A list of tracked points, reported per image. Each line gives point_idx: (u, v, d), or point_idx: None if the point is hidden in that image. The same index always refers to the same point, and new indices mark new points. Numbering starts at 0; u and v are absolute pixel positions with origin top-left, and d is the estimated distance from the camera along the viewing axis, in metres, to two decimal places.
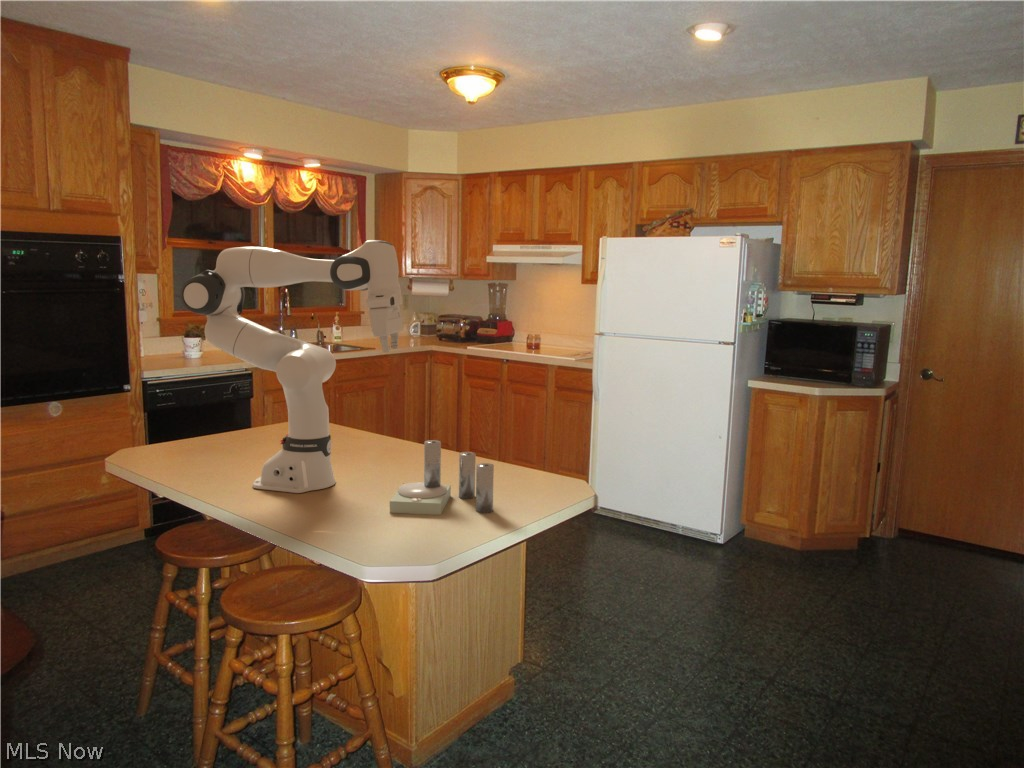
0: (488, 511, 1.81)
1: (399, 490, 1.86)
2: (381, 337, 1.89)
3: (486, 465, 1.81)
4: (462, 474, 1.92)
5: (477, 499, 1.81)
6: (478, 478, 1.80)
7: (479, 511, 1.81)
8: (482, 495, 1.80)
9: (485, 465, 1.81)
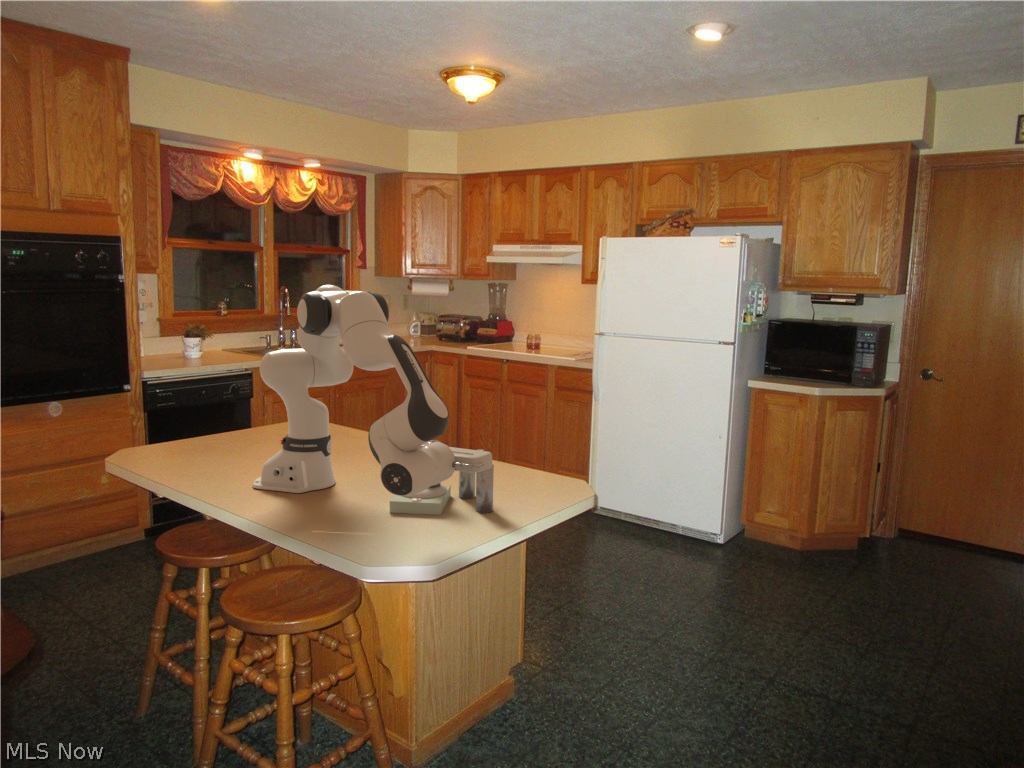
0: (488, 511, 1.81)
1: None
2: None
3: None
4: (462, 474, 1.92)
5: (477, 499, 1.81)
6: (478, 478, 1.80)
7: (479, 511, 1.81)
8: (482, 495, 1.80)
9: None
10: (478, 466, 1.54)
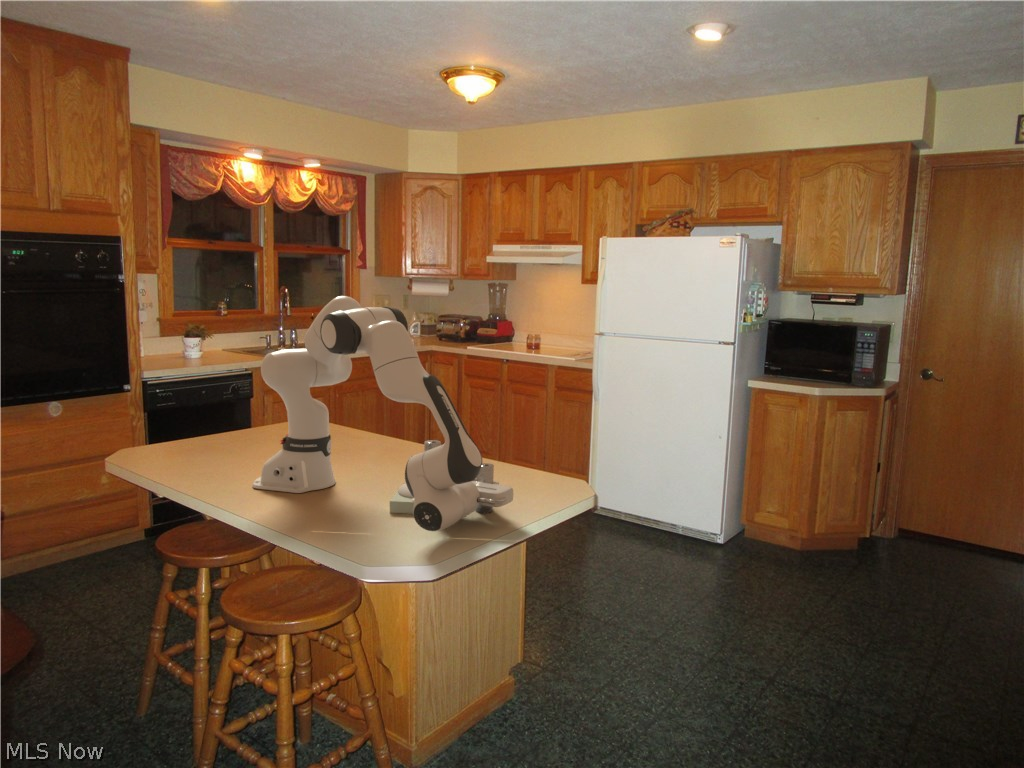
0: (488, 511, 1.81)
1: (399, 490, 1.86)
2: None
3: (486, 465, 1.81)
4: None
5: None
6: (478, 478, 1.80)
7: (479, 511, 1.81)
8: None
9: (485, 465, 1.81)
10: (501, 501, 1.67)
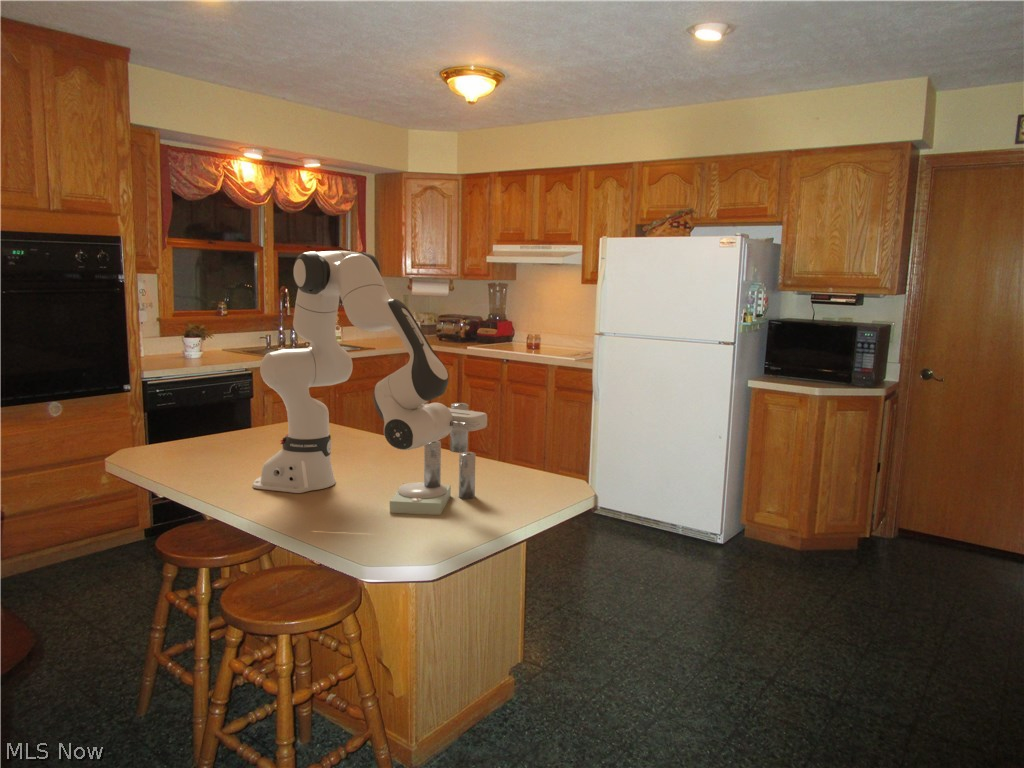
0: (462, 450, 1.81)
1: (399, 490, 1.86)
2: None
3: (461, 404, 1.80)
4: (462, 474, 1.92)
5: (451, 438, 1.81)
6: None
7: (453, 450, 1.81)
8: (456, 434, 1.80)
9: (460, 404, 1.80)
10: (474, 425, 1.66)
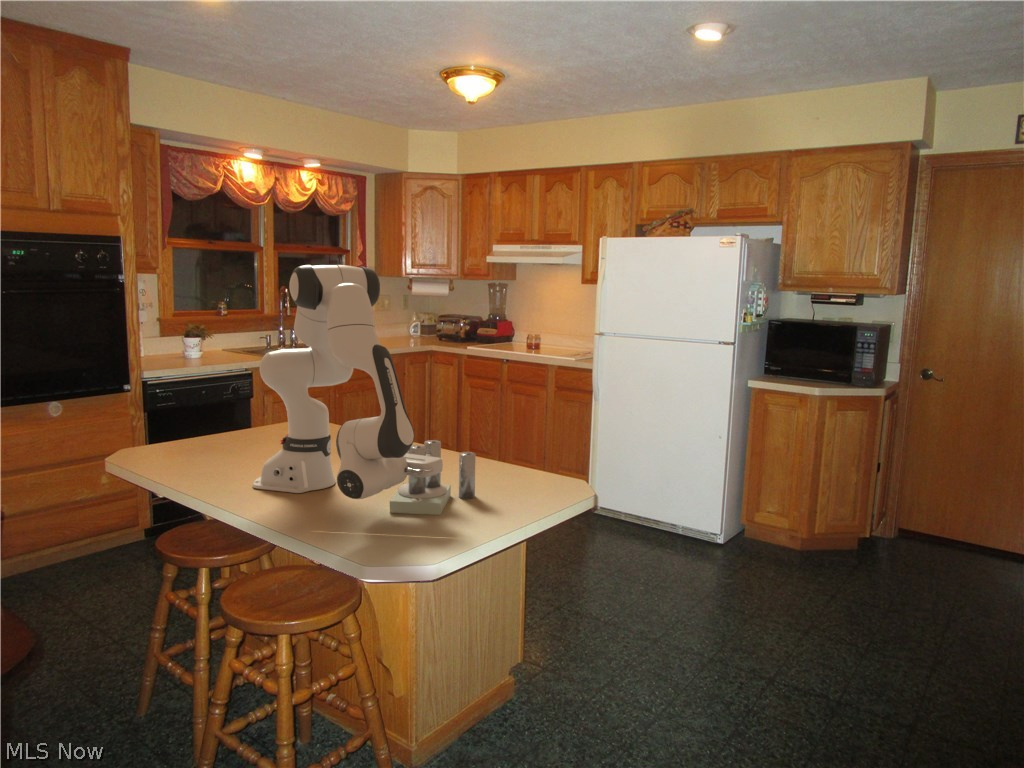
0: (420, 492, 1.83)
1: (399, 490, 1.86)
2: None
3: (418, 447, 1.83)
4: (462, 474, 1.92)
5: (409, 480, 1.84)
6: None
7: (411, 492, 1.84)
8: (414, 476, 1.83)
9: (417, 447, 1.83)
10: (427, 471, 1.70)
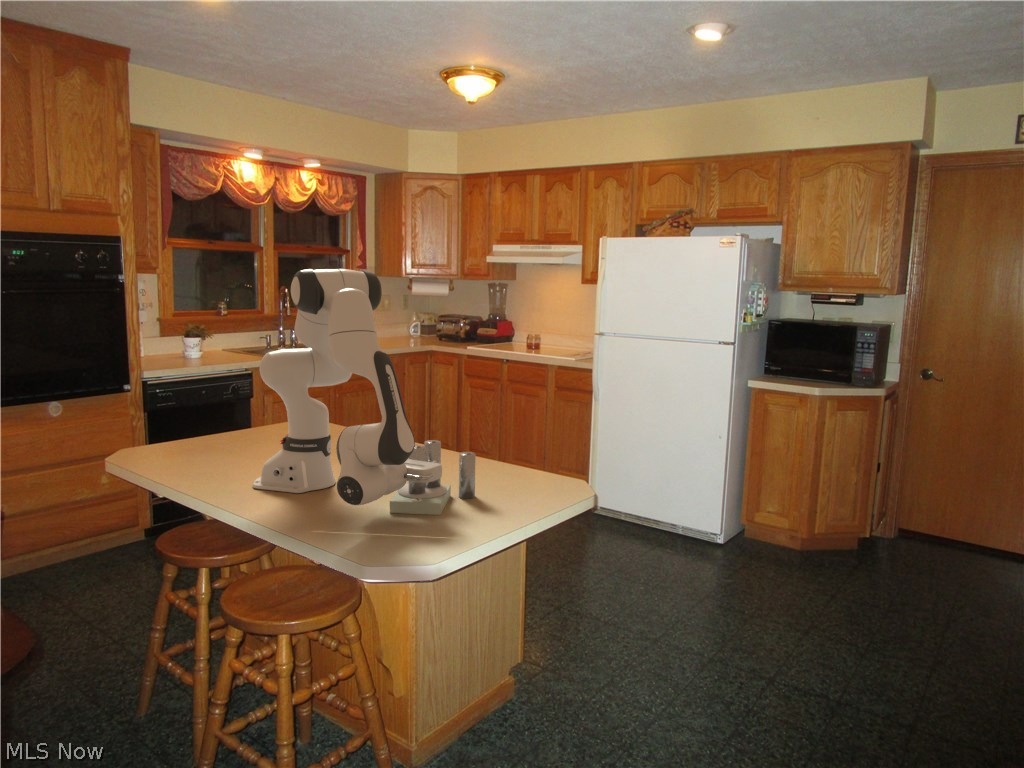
0: (420, 492, 1.83)
1: (399, 490, 1.86)
2: None
3: (418, 447, 1.83)
4: (462, 474, 1.92)
5: None
6: None
7: (411, 492, 1.84)
8: None
9: (417, 447, 1.83)
10: (427, 477, 1.70)
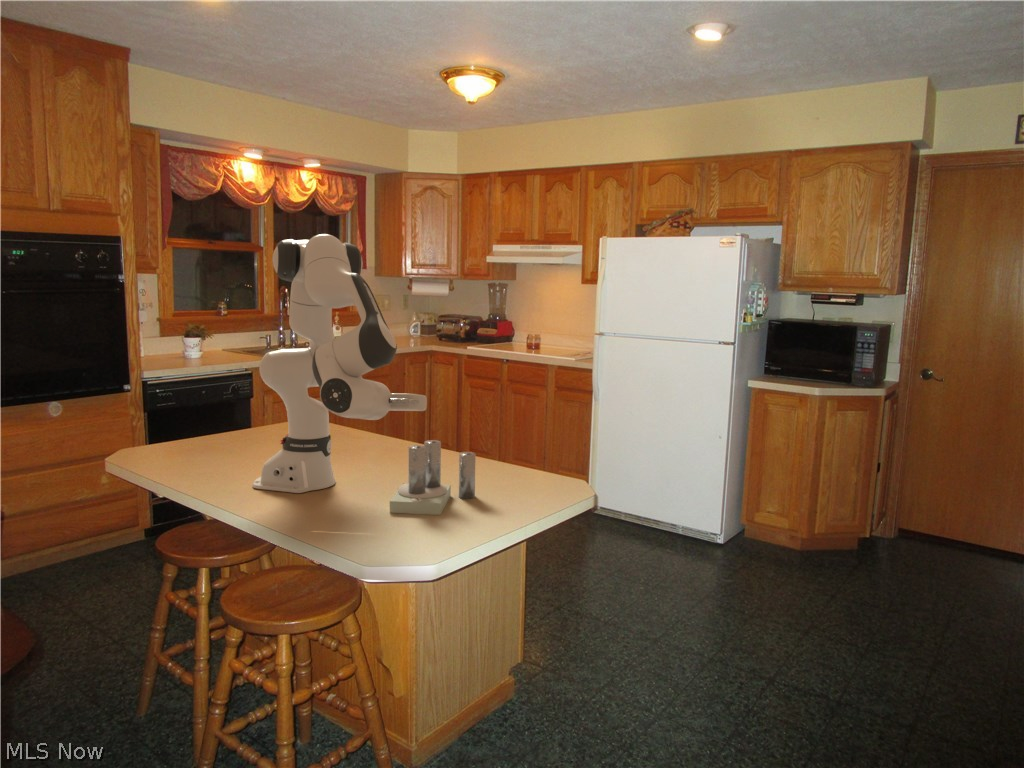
0: (420, 492, 1.83)
1: (399, 490, 1.86)
2: None
3: (418, 447, 1.83)
4: (462, 474, 1.92)
5: (409, 480, 1.84)
6: (410, 460, 1.83)
7: (411, 492, 1.84)
8: (414, 476, 1.83)
9: (417, 447, 1.83)
10: (414, 400, 1.59)
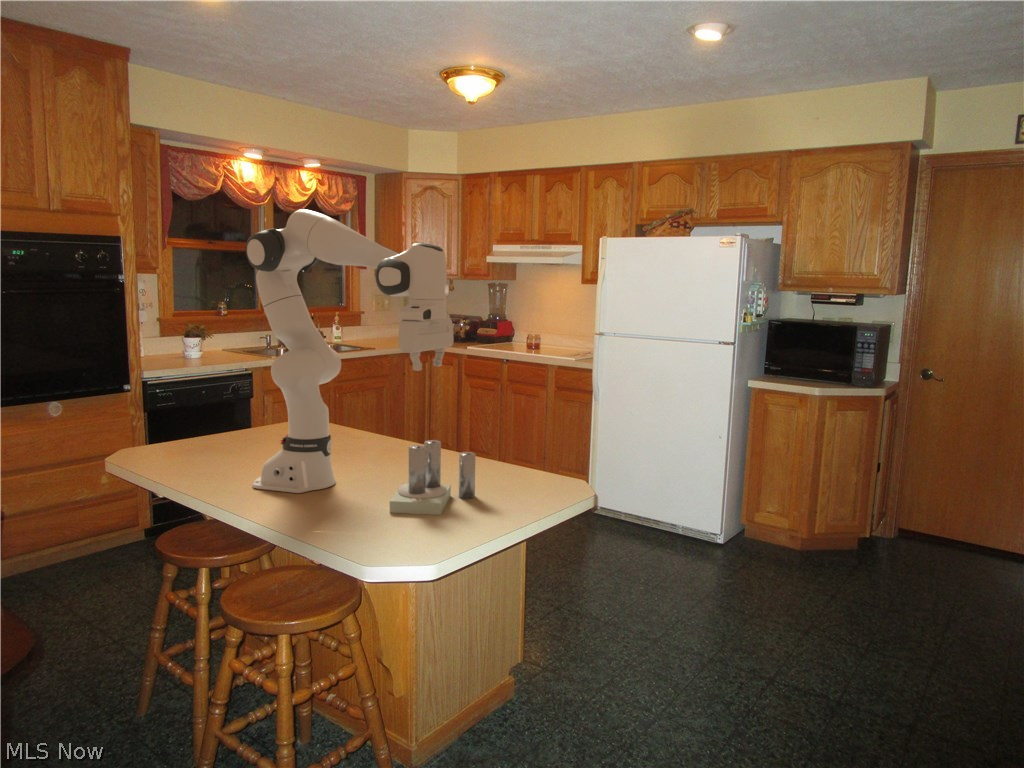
0: (420, 492, 1.83)
1: (399, 490, 1.86)
2: (411, 353, 1.67)
3: (418, 447, 1.83)
4: (462, 474, 1.92)
5: (409, 480, 1.84)
6: (410, 460, 1.83)
7: (411, 492, 1.84)
8: (414, 476, 1.83)
9: (417, 447, 1.83)
10: None
